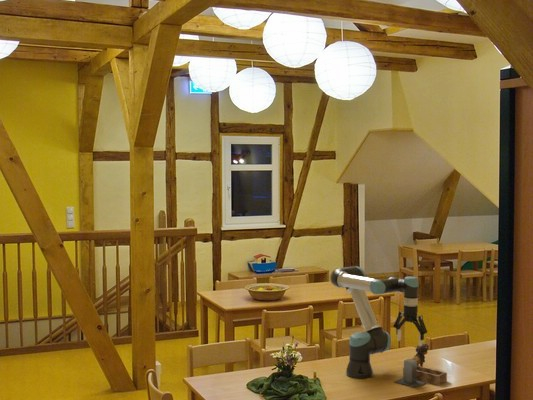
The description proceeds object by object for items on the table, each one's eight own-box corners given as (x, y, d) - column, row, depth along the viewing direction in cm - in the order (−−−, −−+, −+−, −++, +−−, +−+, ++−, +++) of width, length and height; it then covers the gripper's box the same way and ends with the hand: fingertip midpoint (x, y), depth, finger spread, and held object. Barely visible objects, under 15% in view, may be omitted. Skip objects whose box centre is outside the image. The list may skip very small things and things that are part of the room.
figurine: (430, 367, 406) (431, 342, 405) (411, 375, 390) (412, 349, 389) (420, 364, 411) (420, 340, 410) (401, 372, 395) (401, 347, 394)
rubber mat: (394, 382, 378) (394, 381, 378) (404, 378, 385) (404, 377, 385) (416, 388, 368) (416, 387, 368) (426, 383, 376) (426, 382, 376)
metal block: (403, 381, 377) (403, 360, 376) (408, 379, 380) (408, 358, 380) (411, 384, 373) (411, 362, 373) (416, 381, 377) (416, 360, 376)
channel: (403, 376, 389) (403, 367, 388) (411, 372, 395) (411, 364, 395) (438, 385, 373) (438, 376, 373) (446, 381, 380) (446, 372, 380)
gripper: (387, 302, 382) (386, 339, 383) (427, 309, 364) (426, 349, 366) (395, 300, 387) (394, 337, 388) (434, 307, 370) (433, 346, 371)
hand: (409, 343), depth 377 cm, fingers open, 13 cm apart
